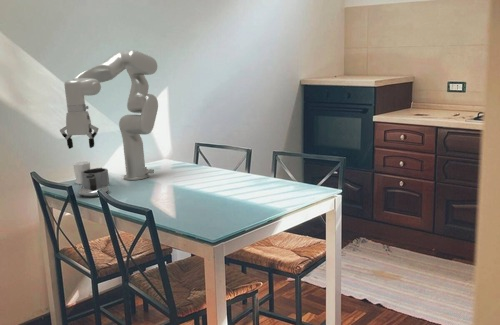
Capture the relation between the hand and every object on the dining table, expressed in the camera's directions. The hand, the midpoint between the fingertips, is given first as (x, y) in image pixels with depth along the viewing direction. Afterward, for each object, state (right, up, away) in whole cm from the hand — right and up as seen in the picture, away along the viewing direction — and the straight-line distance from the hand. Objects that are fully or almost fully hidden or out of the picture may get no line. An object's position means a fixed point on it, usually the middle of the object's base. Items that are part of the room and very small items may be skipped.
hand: (81, 147), depth 237 cm
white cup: (-8, -17, +28) cm, 34 cm away
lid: (+4, -21, +5) cm, 22 cm away
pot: (0, -17, +21) cm, 28 cm away
